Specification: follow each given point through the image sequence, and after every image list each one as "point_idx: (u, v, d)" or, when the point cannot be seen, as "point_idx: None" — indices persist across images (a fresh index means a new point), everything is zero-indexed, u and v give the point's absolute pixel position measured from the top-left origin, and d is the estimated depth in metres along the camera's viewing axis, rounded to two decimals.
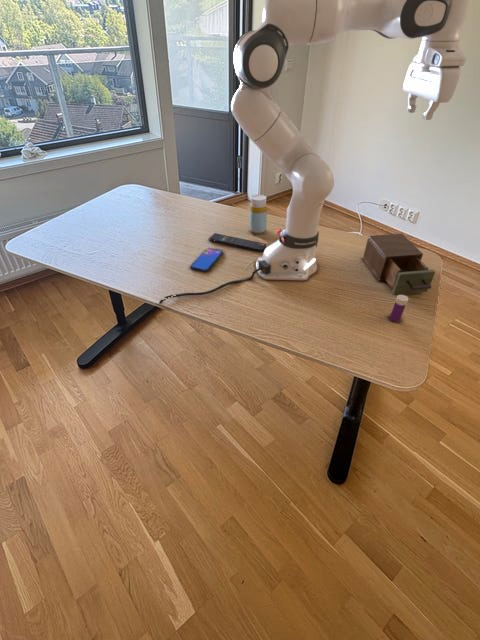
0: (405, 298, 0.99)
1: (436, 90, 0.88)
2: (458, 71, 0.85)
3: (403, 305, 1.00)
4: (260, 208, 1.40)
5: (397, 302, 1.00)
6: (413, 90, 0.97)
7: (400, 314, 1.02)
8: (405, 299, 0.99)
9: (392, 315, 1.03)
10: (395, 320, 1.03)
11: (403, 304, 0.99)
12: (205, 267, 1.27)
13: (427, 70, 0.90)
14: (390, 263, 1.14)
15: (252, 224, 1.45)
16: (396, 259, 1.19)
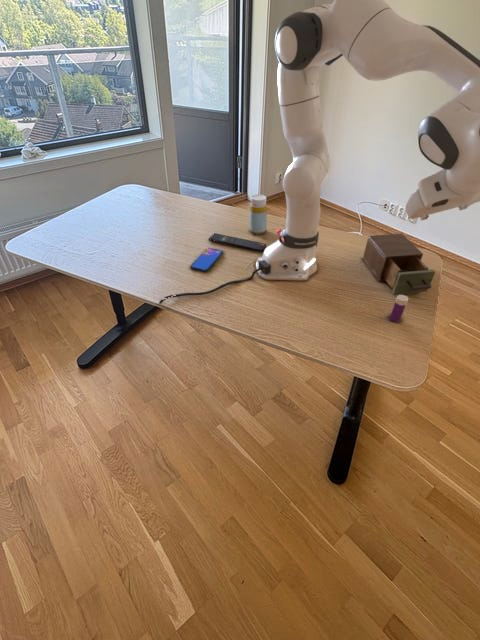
0: (405, 298, 0.99)
1: None
2: (419, 205, 0.79)
3: (403, 305, 1.00)
4: (260, 208, 1.40)
5: (397, 302, 1.00)
6: None
7: (400, 314, 1.02)
8: (405, 299, 0.99)
9: (392, 315, 1.03)
10: (395, 320, 1.03)
11: (403, 304, 0.99)
12: (205, 267, 1.27)
13: None
14: (390, 263, 1.14)
15: (252, 224, 1.45)
16: (396, 259, 1.19)
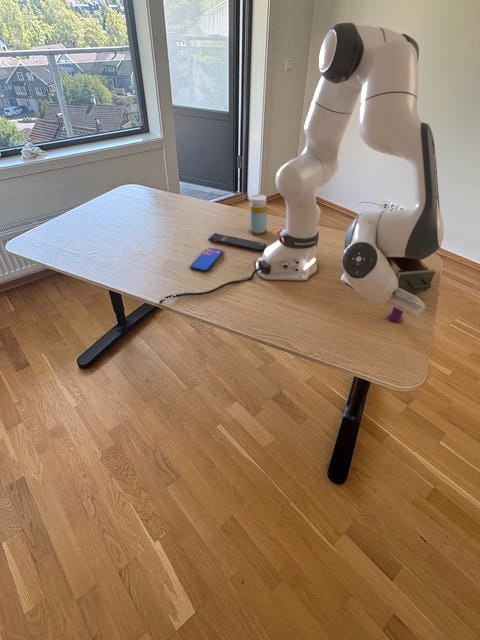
0: None
1: None
2: None
3: None
4: (260, 208, 1.40)
5: None
6: None
7: (400, 314, 1.02)
8: None
9: (392, 315, 1.03)
10: (395, 320, 1.03)
11: None
12: (205, 267, 1.27)
13: None
14: (390, 263, 1.14)
15: (252, 224, 1.45)
16: (396, 259, 1.19)
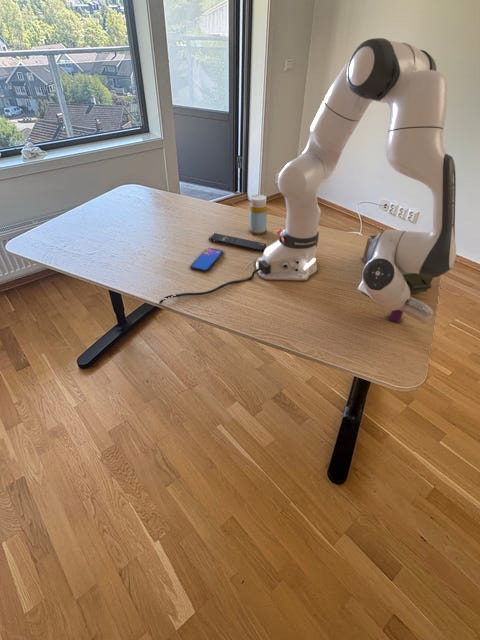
0: None
1: None
2: None
3: None
4: (260, 208, 1.40)
5: None
6: None
7: (400, 314, 1.02)
8: None
9: (392, 315, 1.03)
10: (395, 320, 1.03)
11: None
12: (205, 267, 1.27)
13: None
14: None
15: (252, 224, 1.45)
16: None
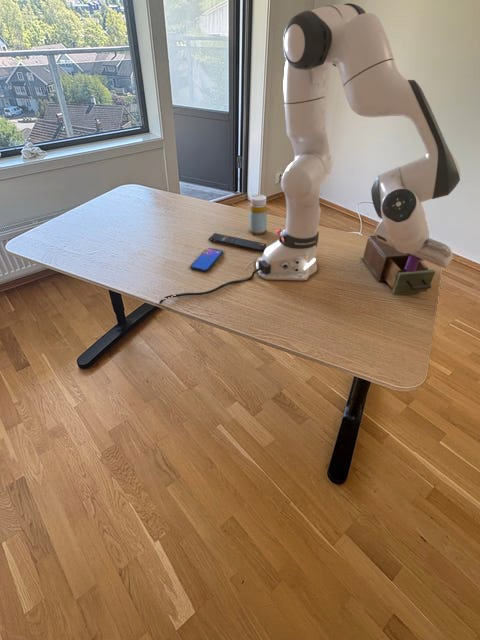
0: None
1: None
2: None
3: None
4: (260, 208, 1.40)
5: None
6: None
7: (416, 263, 0.99)
8: None
9: (408, 264, 1.00)
10: (411, 270, 1.00)
11: None
12: (205, 267, 1.27)
13: None
14: (390, 263, 1.14)
15: (252, 224, 1.45)
16: (396, 259, 1.19)
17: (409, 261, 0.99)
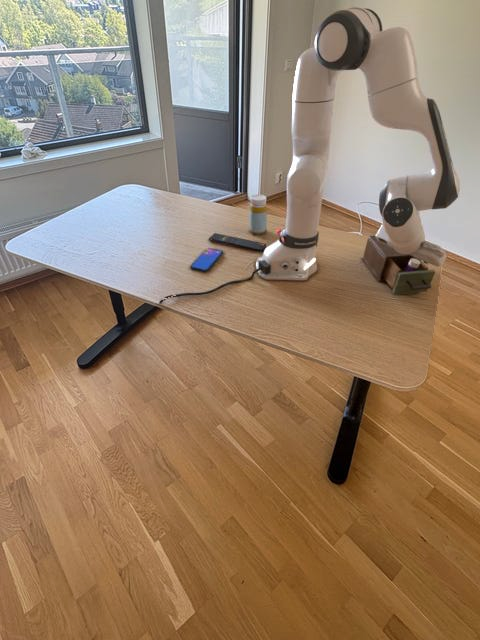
0: (418, 261, 1.10)
1: None
2: None
3: (415, 268, 1.10)
4: (260, 208, 1.40)
5: (410, 264, 1.11)
6: None
7: None
8: (417, 262, 1.10)
9: None
10: None
11: (415, 267, 1.10)
12: (205, 267, 1.27)
13: None
14: (390, 263, 1.14)
15: (252, 224, 1.45)
16: (396, 259, 1.19)
17: None
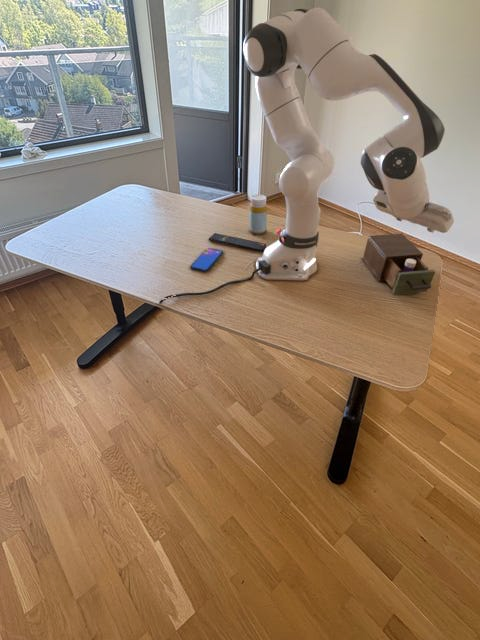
0: (414, 261, 1.10)
1: None
2: None
3: (412, 267, 1.11)
4: (260, 208, 1.40)
5: (406, 265, 1.11)
6: None
7: None
8: (413, 262, 1.10)
9: None
10: None
11: (412, 266, 1.10)
12: (205, 267, 1.27)
13: None
14: (390, 263, 1.14)
15: (252, 224, 1.45)
16: (396, 259, 1.19)
17: None
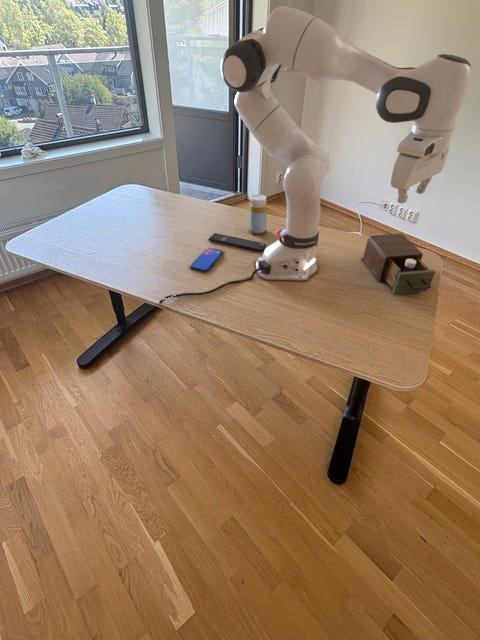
0: (414, 261, 1.10)
1: None
2: (412, 161, 0.79)
3: (412, 267, 1.11)
4: (260, 208, 1.40)
5: (406, 265, 1.11)
6: None
7: None
8: (413, 262, 1.10)
9: None
10: None
11: (412, 266, 1.10)
12: (205, 267, 1.27)
13: None
14: (390, 263, 1.14)
15: (252, 224, 1.45)
16: (396, 259, 1.19)
17: None
